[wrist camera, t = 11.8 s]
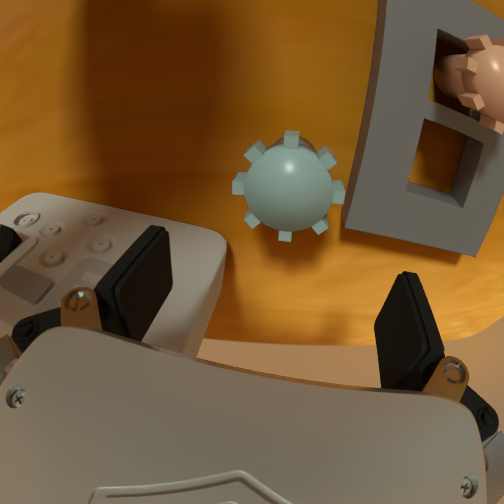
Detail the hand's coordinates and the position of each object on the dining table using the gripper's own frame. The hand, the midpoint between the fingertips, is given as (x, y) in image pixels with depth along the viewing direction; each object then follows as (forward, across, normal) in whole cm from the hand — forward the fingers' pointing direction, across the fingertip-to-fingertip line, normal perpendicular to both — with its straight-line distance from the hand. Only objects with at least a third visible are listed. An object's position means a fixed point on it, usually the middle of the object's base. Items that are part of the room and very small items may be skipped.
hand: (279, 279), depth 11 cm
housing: (+15, -12, -8) cm, 20 cm away
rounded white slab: (+15, +20, +9) cm, 26 cm away
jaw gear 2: (+15, -12, -12) cm, 22 cm away
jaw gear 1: (+15, 0, -1) cm, 15 cm away
